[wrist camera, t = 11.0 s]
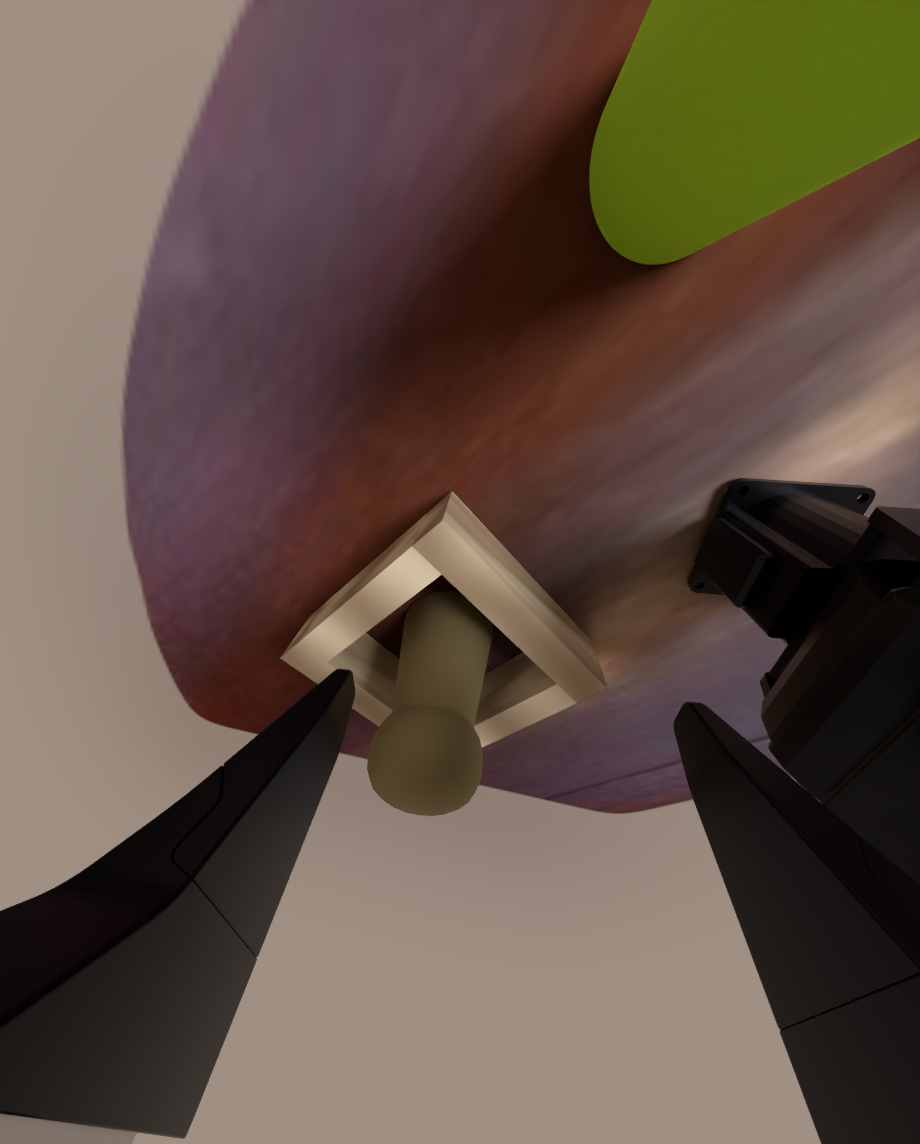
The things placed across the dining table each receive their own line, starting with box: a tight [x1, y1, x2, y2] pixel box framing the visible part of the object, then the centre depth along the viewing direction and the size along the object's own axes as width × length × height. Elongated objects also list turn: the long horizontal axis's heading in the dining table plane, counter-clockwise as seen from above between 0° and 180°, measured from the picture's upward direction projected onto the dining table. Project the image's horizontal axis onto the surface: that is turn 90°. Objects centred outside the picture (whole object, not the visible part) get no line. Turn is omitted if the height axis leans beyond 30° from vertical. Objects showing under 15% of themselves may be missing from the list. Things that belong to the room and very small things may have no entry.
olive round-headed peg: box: [367, 591, 493, 816], centre depth 20 cm, size 6×6×11 cm
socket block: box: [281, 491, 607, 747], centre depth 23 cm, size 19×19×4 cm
